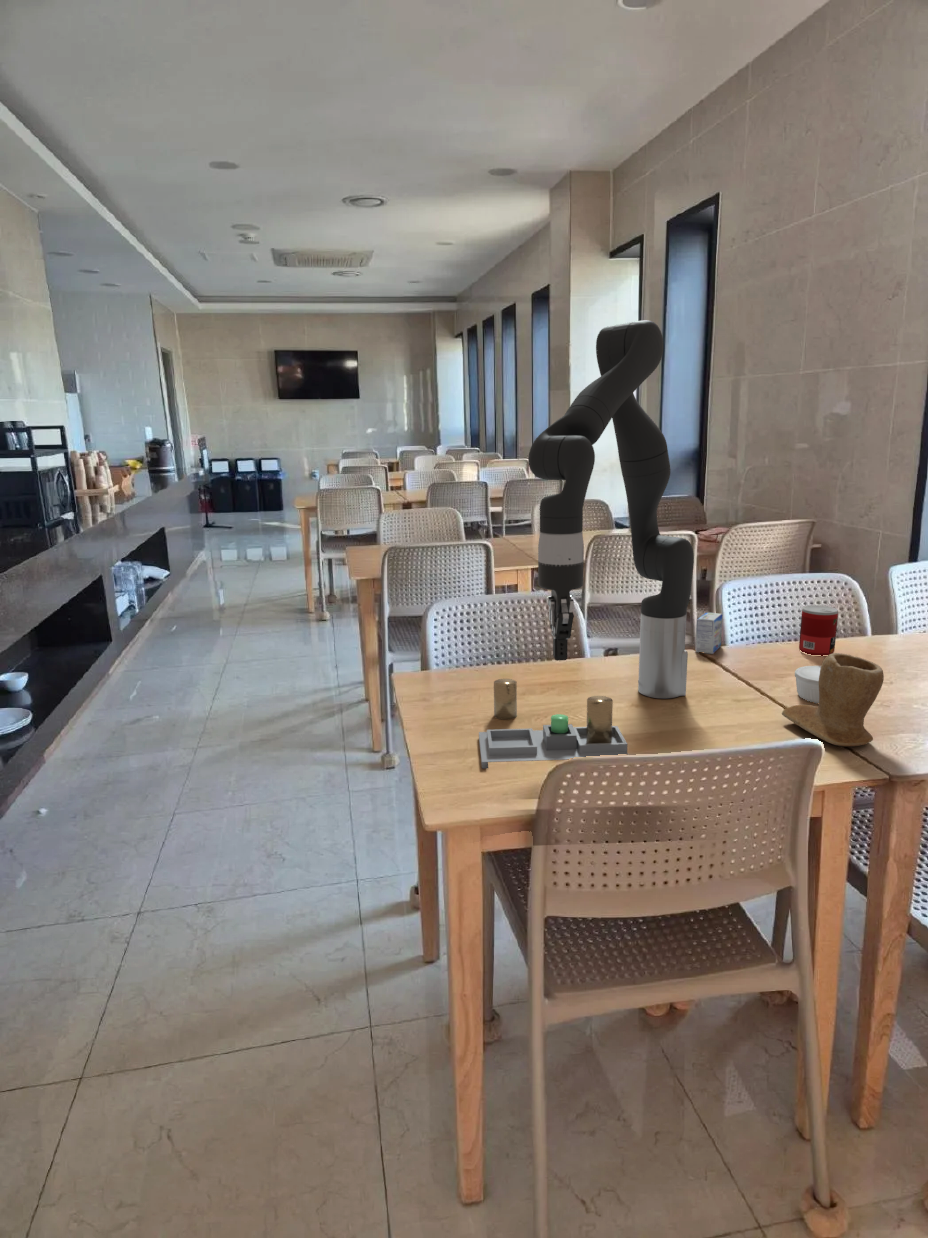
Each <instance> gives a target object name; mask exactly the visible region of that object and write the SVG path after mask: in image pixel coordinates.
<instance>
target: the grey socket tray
mask: <svg viewBox="0 0 928 1238" xmlns="http://www.w3.org/2000/svg"><path fill="white" fill-rule="evenodd" d="M586 736H587V726H574V725H573V724H572V723H568V732H566V733H561V734H559V733H554V732H552V731H551V724H543V725H542V730H539V729H537V730H536V729H535V730H534V729H533V728H532V727H531V728H501V729H486V731H479V732H478V741H479V751H480V761H481V769H489V763H497V762H499V763H501V762H530V761H531V762H534V761H564V760H565V761H567V759H570V758H574V757H586V756H600V755H618V754H628V755H629V753H628V742H627V740H626V739H625V737H624V736H623V734H622V731H621V730H620V728H619V726H618V725H612V743H598V744H587V743H586Z"/></svg>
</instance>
